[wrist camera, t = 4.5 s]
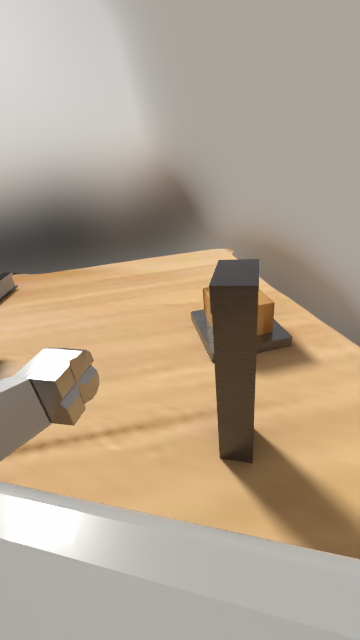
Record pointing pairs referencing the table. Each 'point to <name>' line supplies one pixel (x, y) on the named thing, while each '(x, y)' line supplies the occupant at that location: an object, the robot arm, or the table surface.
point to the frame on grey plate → (267, 327)
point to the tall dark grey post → (235, 353)
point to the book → (6, 284)
